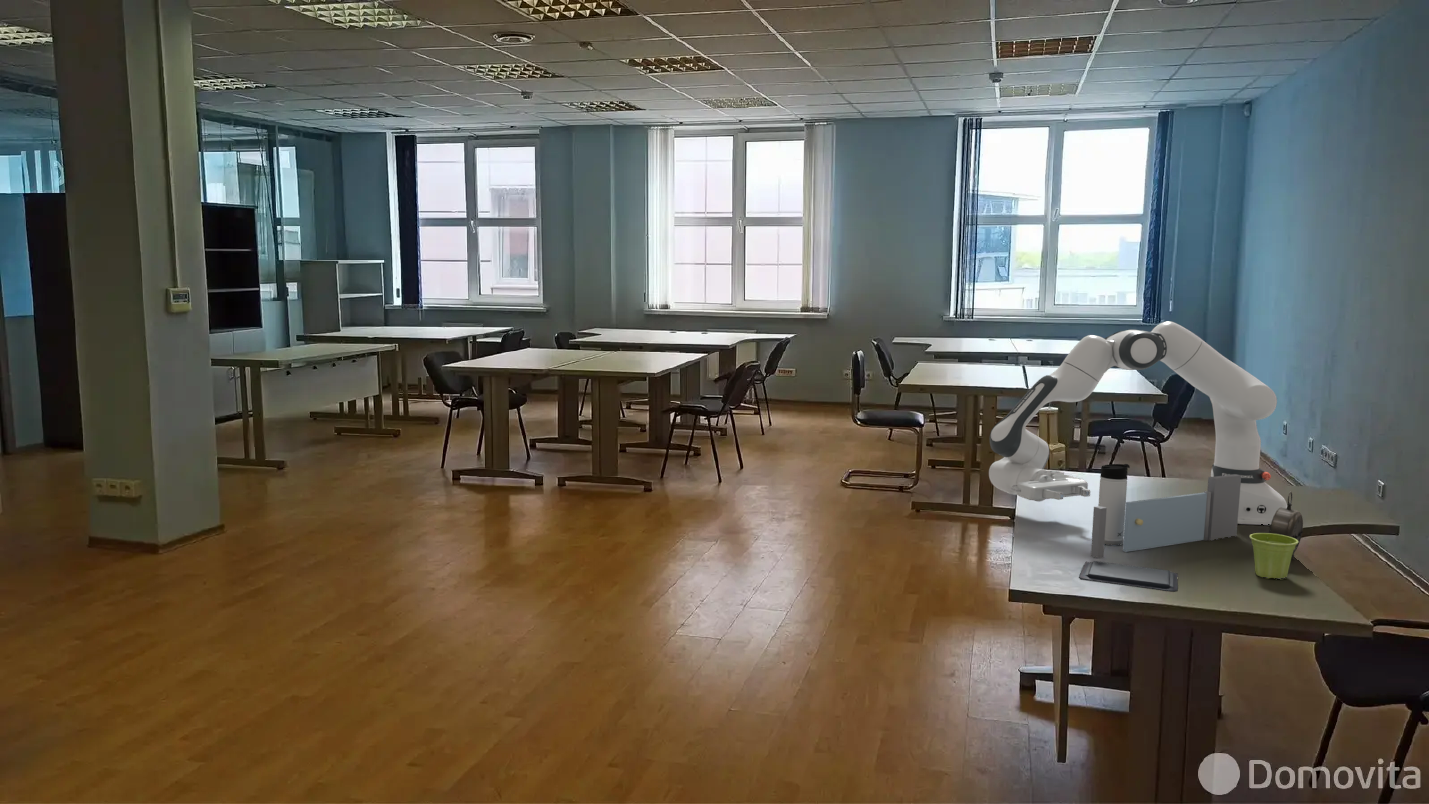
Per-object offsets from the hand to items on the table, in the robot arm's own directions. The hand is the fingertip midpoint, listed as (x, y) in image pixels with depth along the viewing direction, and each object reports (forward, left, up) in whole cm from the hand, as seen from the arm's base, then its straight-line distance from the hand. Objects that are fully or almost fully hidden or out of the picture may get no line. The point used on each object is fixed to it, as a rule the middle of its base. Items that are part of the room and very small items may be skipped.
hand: (1075, 495), depth 255 cm
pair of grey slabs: (-22, +7, -10) cm, 25 cm away
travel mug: (-9, +9, -10) cm, 16 cm away
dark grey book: (-11, +37, -10) cm, 40 cm away
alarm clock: (-47, +8, -10) cm, 49 cm away
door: (-22, +7, -9) cm, 25 cm away
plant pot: (-41, +25, -10) cm, 49 cm away
